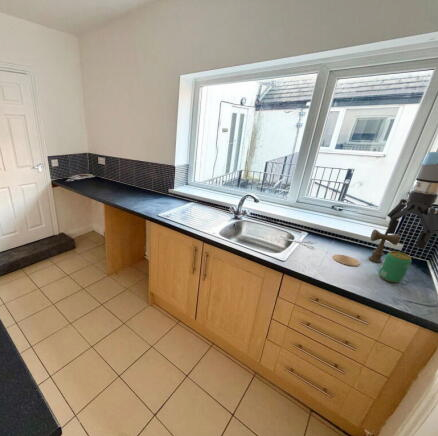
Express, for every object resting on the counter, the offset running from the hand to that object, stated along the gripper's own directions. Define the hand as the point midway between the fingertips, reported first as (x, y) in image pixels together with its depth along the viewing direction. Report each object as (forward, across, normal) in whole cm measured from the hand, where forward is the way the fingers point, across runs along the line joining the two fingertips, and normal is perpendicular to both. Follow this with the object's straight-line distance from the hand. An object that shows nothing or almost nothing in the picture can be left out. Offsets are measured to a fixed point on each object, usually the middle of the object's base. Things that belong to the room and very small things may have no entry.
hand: (403, 240), depth 104 cm
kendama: (+19, -16, +6) cm, 26 cm away
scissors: (+19, -34, -24) cm, 45 cm away
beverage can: (+19, 0, 0) cm, 19 cm away
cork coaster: (+19, -15, -9) cm, 26 cm away
